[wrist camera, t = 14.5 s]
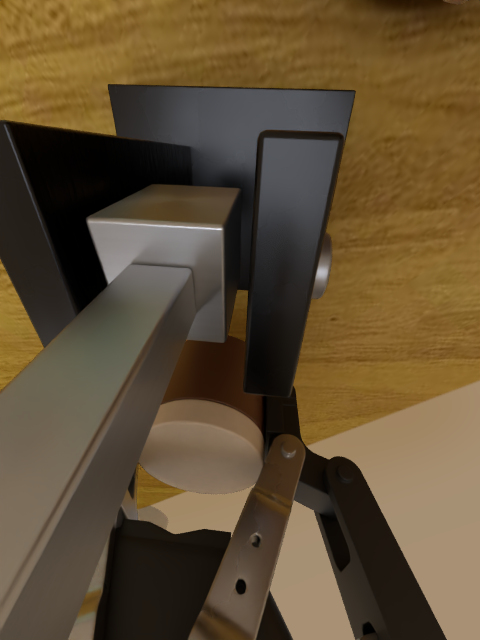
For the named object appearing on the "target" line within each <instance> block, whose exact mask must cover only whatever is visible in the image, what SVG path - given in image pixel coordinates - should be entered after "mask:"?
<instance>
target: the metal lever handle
mask: <svg viewBox="0 0 480 640" xmlns="http://www.w3.org/2000/svg"><path fill="white" fill-rule="evenodd" d="M241 213H242V190H241V189H239V188H224V187H204V186H184V185H163V184H152V185H150V186H148V187H146V188H144V189H142V190H140V191H138V192H136V193H134V194H132V195H130V196H128V197H126V198H124V199H122V200H120V201H118V202H116V203H114V204H112V205H110V206H108V207H106V208H104V209H102V210H100V211H98V212H96V213H94V214H92V215H90V216H88V217H87V218H86V223H87V226H88V229H89V232H90V235H91V238H92V241H93V244H94V247H95V250H96V253H97V256H98V259H99V262H100V265H101V268H102V271H103V274H104V277H105V280H106V282H107V285H108V286H107V287H106V288H105V289H104V290H103V291H102V292H101V293H100V294H99V295H98V296H97V297H96V298H95V299H94V300H93V301H92V302H91V303H90V304H89V305H87V306H86V307H85V308H84V309H83V310H82V311H81V312H80V313H79V314H78V315H77V316H76V317H75V318H74V319H73V320H72V321H71V322H70V323H69V324H68V325H67V326H66V327H65V328H64V329H63V330H62V331H61V332H60V333H59V334H58V335H57V336H56V337H55V338H54V339H53V340H52V341H51V342H50V343H49V344H48V345H47V346H46V347H45V348H44V349H43V350H42V351H41V352H40V353H39V354H38V355H37V356H36V357H35V358H34V359H33V360H32V361H31V362H30V363H29V364H28V365H27V366H26V367H25V368H24V369H23V370H22V371H21V372H20V373H19V374H18V375H17V376H16V377H15V378H14V379H13V380H12V381H11V382H10V383H9V384H8V385H7V386H5V387H4V388H3V389H2V390H1V391H0V640H68V638H69V636H70V633H71V631H72V628H73V626H74V623H75V621H76V618H77V616H78V613H79V611H80V608H81V605H82V603H83V600H84V598H85V595H86V593H87V590H88V588H89V585H90V583H91V580H92V578H93V575H94V572H95V570H96V567H97V565H98V562H99V560H100V557H101V555H102V552H103V550H104V547H105V545H106V542H107V539H108V537H109V534H110V532H111V529H112V527H113V524H114V522H115V519H116V517H117V514H118V512H119V509H120V506H121V504H122V501H123V499H124V496H125V494H126V491H127V489H128V486H129V484H130V481H131V479H132V476H133V473H134V471H135V468H136V466H137V463H138V461H139V458H140V456H141V453H142V451H143V448H144V446H145V443H146V441H147V438H148V435H149V433H150V430H151V428H152V425H153V423H154V420H155V418H156V415H157V413H158V410H159V408H160V405H161V402H162V400H163V397H164V395H165V392H166V390H167V387H168V385H169V382H170V380H171V377H172V375H173V372H174V369H175V367H176V364H177V362H178V359H179V357H180V354H181V352H182V349H183V347H184V344H185V342H186V340H196V341H208V342H220V343H224V342H226V340H227V337H228V332H229V327H230V322H231V317H232V313H233V308H234V303H235V298H236V293H237V288H238V283H239V278H240V248H241Z"/></svg>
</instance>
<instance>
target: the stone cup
mask: <svg viewBox="0 0 480 640" xmlns="http://www.w3.org/2000/svg"><path fill="white" fill-rule="evenodd" d="M443 1H444V2H448V3H453V4H462V3H464V2H466V1H469V0H443Z"/></svg>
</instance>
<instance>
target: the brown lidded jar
mask: <svg viewBox="0 0 480 640" xmlns="http://www.w3.org/2000/svg"><path fill="white" fill-rule="evenodd" d="M244 357H245V342H244V341H242V340H240V339H238V338H236V337H233V336H229V335H228V337H227V340H226V342H224V343H220V342H208V341H196V340H187V341H186V342H185V344H184V347H183V349H182V352H181V354H180V357H179V359H178V362H177V364H176V367H175V369H174V372H173V375H172V377H171V380H170V382H169V385H168V387H167V390H166V392H165V395H164V397H163V400H162V402H161V405H160V408H159V410H158V413H157V415H156V418H155V420H154V423H153V425H152V428H151V430H150V433H149V435H148V438H147V441H146V443H145V446H144V448H143V451H142V453H141V456H140V458H139V461H138V463H139V464H140V465H141V466H142V467H143V469H144V470H146V471H147V472H148V473H149V474H150V475H152V476H153V477H155V478H156V479H158V480H160V481H162V482H164V483H166V484H168V485H171V486H173V487H176V488H179V489H182V490H186V491H191V492H196V493H203V494H227V493H234V492H238V491H241V490H244V489H246V488H249V487H251V486H252V485H254V484H255V483H256V482H257V479H258V477H259V474H260V472H261V469H262V467H263V464H264V456H265V396H263V395H253V394H246V393H244V391H243V374H244Z"/></svg>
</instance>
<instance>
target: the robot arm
mask: <svg viewBox="0 0 480 640" xmlns="http://www.w3.org/2000/svg"><path fill="white" fill-rule="evenodd" d="M138 466H139V463H137V466H136V468H135V471H134V473H133V476H132V479H131V481H130V484H129V486H128V489H127V491H126V494H125V496H124V499H123V501H122V504H121V506H120V509H119V512H118V514H117V517H116V519H115V522H114V524H113V527H112V529H111V532H110V534H109V537H108V539H107V542H106V545H105V547H104V550H103V552H102V555H101V557H100V560H99V562H98V565H97V567H96V570H95V572H94V575H93V578H92V580H91V583H90V585H89V588H88V590H87V593H86V595H85V598H84V600H83V603H82V605H81V608H80V611H79V613H78V616H77V618H76V621H75V623H74V626H73V628H72V631H71V633H70V636H69V638H68V640H293V638H292V636H291V634H290V632H289V630H288V628H287V626H286V624H285V622H284V619H283V617H282V615H281V613H280V611H279V609H278V607H277V605H276V603H275V601H274V599H273V596H272V594H271V592H270V586H271V582H272V579H273V575H274V571H275V567H276V564H277V560H278V557H279V553H280V549H281V546H282V542H283V538H284V535H285V530H286V527H287V524H288V520H289V516H290V512H291V507H292V504H293V500H295V501H297V502H298V503H301V504H302V505H304V506H306V507H308V508H310V509H312V510H314V512H315V516H316V519H317V522H318V525H319V528H320V531H321V534H322V537H323V540H324V544H325V547H326V550H327V553H328V556H329V559H330V562H331V565H332V568H333V572H334V574H335V578H336V581H337V584H338V587H339V590H340V593H341V596H342V600H343V603H344V606H345V609H346V612H347V615H348V618H349V621H350V625H351V628H352V631H353V634H354V637H355V640H447V639H446V637H445V635H444V633H443V631H442V629H441V627H440V625H439V624H438V622H437V620H436V618H435V616H434V614H433V612H432V610H431V608H430V606H429V604H428V602H427V600H426V598H425V596H424V594H423V592H422V590H421V588H420V587H419V584H418V583H417V580H416V578H415V577H414V574H413V572H412V571H411V569H410V567H409V565H408V563H407V561H406V559H405V557H404V555H403V553H402V551H401V549H400V547H399V545H398V543H397V541H396V539H395V537H394V535H393V533H392V531H391V529H390V527H389V526H388V524H387V521H386V519H385V518H384V516H383V514H382V512H381V510H380V508H379V506H378V504H377V502H376V500H375V498H374V496H373V494H372V492H371V490H370V488H369V486H368V484H367V482H366V480H365V479H364V477H363V474H362V472H361V471H360V469H359V468H358V466H356V464H355V463H353V462H352V461H351V460H349V459H347V458H345V457H340V456H337V457H333V458H331V459H330V460H329V459H326V458H324V457H322V456H319V455H317V454H315V453H313V452H312V451H310V450H309V449H308V448H307V447H306V446H305V444H304V443H303V441H302V439H301V435H300V426H299V418H298V409H297V400H296V391H295V388H294V386H293V388H292V392H291V395H290V397H288V398H283V397H273V396H265V456H264V464H263V467H262V469H261V472H260V474H259V477H258V479H257V482H256V484H255V486H254V488H252V490H251V492H250V494H249V496H248V498H247V501H246V503H245V506H244V508H243V510H242V513H241V515H240V518H239V520H238V523H237V525H236V527H235V530H234V532H233V535H232V537H231V532H224V531H216V530H208V529H202V530H196V531H191V532H186V533H181V534H172V533H170V532H168V531H167V530H165V529H163V528H161V527H159V526H157V525H155V524H153V523H151V522H147V521H139V520H138V513H137V483H138Z"/></svg>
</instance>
